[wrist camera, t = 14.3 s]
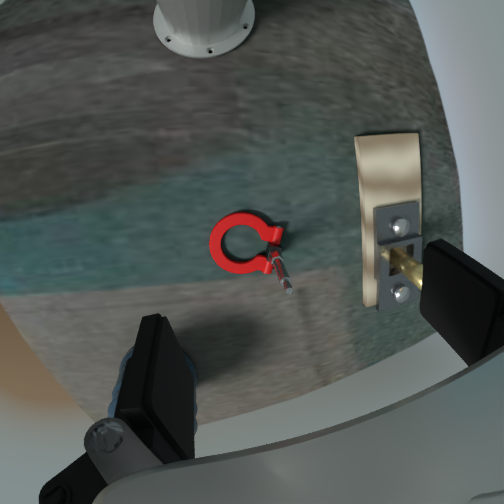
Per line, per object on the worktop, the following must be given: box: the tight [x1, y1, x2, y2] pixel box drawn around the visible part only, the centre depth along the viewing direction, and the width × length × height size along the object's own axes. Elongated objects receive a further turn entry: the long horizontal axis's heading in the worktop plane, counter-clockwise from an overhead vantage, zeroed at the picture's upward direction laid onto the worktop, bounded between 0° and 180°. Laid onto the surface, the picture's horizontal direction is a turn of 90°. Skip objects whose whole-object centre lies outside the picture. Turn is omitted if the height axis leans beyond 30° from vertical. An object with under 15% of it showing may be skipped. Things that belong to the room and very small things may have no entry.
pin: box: [390, 247, 423, 290], centre depth 40 cm, size 3×3×10 cm
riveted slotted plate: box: [373, 201, 422, 312], centre depth 43 cm, size 16×8×3 cm, turn 9°
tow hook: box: [209, 212, 293, 294], centre depth 37 cm, size 8×13×9 cm
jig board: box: [354, 133, 421, 307], centre depth 43 cm, size 26×10×2 cm, turn 9°
